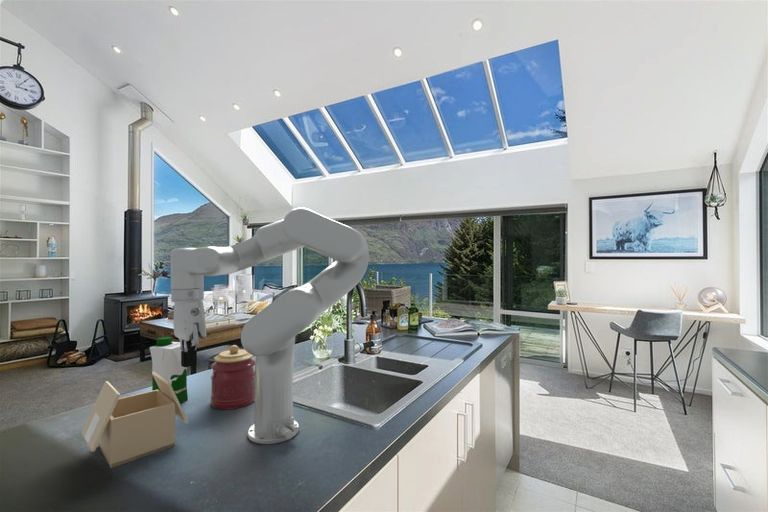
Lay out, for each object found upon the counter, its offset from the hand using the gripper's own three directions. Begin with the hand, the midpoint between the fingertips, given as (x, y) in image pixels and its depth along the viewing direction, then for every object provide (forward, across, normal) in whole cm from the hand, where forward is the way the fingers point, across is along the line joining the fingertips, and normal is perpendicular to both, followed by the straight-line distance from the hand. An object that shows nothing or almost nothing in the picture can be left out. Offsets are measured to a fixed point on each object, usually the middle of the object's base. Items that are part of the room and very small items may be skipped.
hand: (188, 365), depth 95 cm
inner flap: (+7, +1, +6) cm, 9 cm away
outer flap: (+7, +1, +17) cm, 19 cm away
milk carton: (+17, +23, -2) cm, 29 cm away
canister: (+17, +10, -16) cm, 26 cm away
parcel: (+17, +1, +12) cm, 20 cm away
